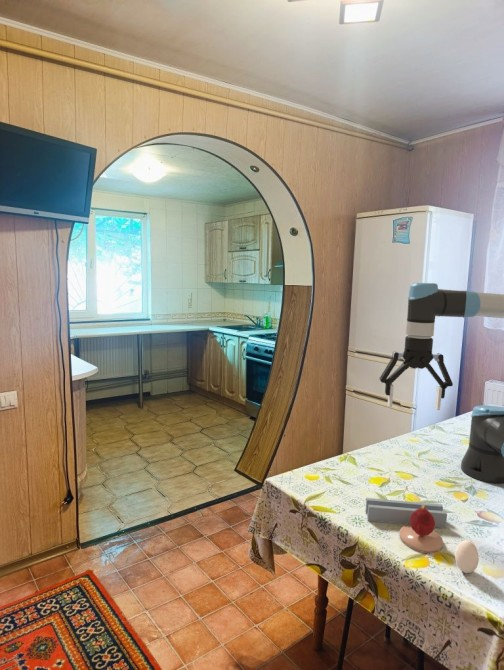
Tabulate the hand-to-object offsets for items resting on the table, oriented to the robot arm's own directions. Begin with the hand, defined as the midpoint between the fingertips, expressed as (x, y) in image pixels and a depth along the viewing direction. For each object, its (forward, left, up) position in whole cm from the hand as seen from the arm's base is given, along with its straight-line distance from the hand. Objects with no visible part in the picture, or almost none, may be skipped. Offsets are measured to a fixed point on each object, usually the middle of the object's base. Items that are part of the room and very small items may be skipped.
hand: (413, 407), depth 128 cm
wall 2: (+4, +18, -27) cm, 32 cm away
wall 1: (+4, +14, -27) cm, 30 cm away
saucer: (+2, +25, -27) cm, 36 cm away
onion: (+2, +25, -26) cm, 36 cm away
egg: (-5, +35, -27) cm, 44 cm away
